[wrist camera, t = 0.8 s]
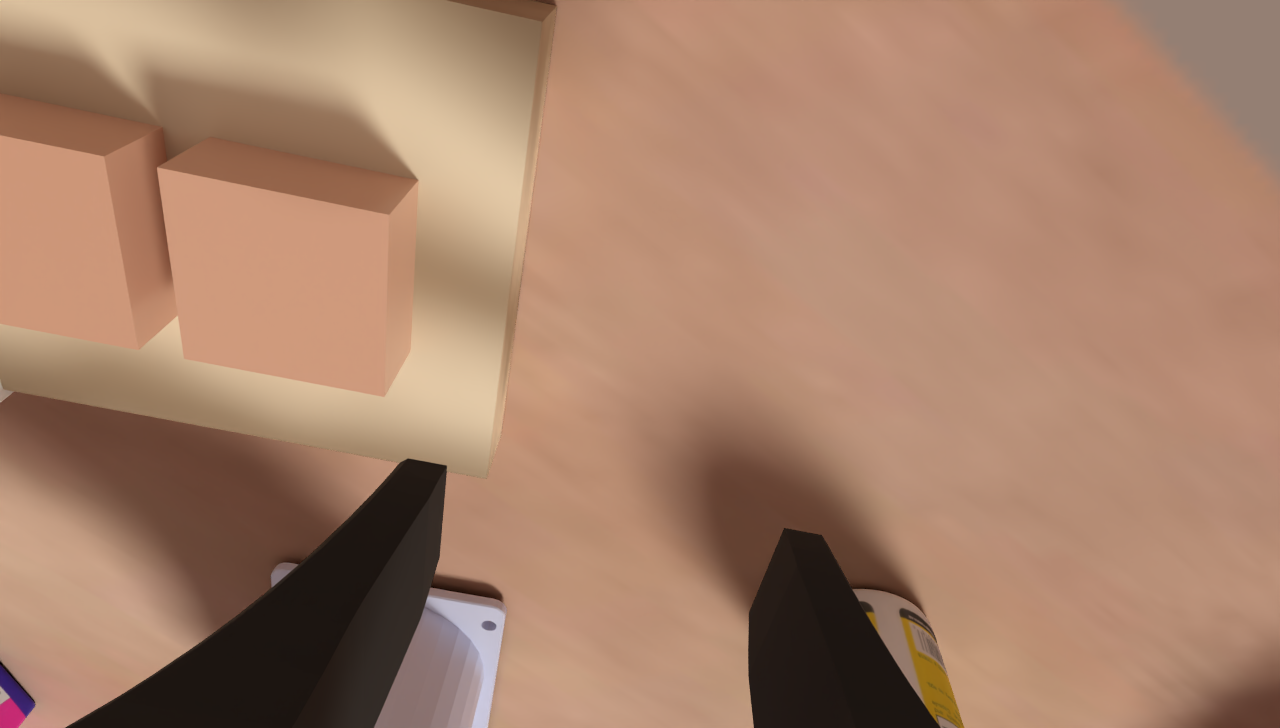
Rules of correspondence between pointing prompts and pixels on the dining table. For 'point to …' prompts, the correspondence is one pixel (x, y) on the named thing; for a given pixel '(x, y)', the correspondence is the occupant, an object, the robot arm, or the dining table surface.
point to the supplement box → (13, 702)
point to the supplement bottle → (913, 651)
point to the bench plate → (331, 131)
